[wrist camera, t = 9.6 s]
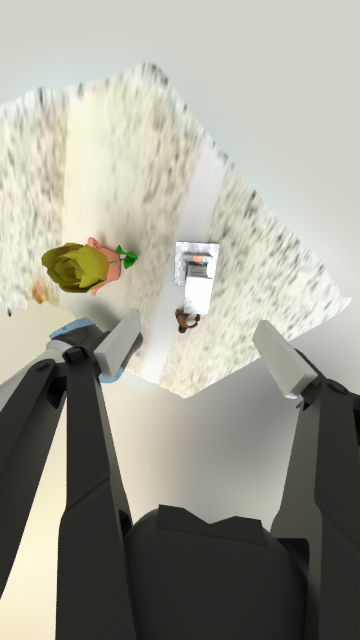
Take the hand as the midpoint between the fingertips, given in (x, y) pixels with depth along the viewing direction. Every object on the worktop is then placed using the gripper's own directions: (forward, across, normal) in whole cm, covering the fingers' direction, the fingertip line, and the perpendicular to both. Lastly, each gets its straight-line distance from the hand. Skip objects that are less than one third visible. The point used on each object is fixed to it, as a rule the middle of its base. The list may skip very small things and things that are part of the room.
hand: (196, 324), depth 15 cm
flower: (+38, -22, +2) cm, 44 cm away
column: (+28, 0, 0) cm, 28 cm away
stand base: (+38, 0, 0) cm, 38 cm away
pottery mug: (+38, -1, -21) cm, 44 cm away
